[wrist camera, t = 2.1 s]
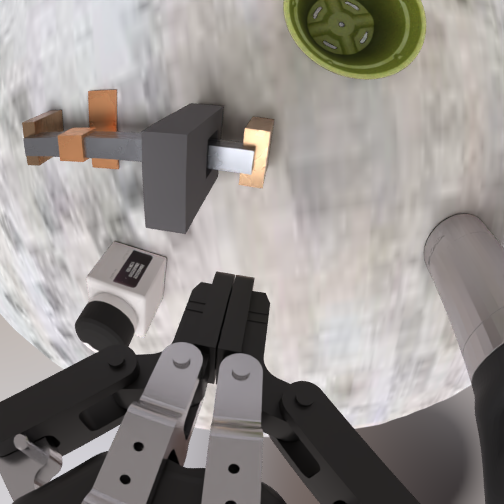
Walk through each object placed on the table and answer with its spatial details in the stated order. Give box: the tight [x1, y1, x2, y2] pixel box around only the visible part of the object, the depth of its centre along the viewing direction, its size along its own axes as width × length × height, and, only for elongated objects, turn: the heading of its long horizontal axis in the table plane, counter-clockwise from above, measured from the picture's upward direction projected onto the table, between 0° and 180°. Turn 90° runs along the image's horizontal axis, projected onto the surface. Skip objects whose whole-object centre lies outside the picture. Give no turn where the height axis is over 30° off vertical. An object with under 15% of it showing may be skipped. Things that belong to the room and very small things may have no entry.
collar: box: [141, 103, 224, 234], centre depth 24 cm, size 3×7×10 cm, turn 174°
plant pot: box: [283, 0, 426, 79], centre depth 18 cm, size 9×9×9 cm
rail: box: [22, 90, 274, 188], centre depth 27 cm, size 26×9×6 cm, turn 84°
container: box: [75, 242, 167, 353], centre depth 35 cm, size 8×8×13 cm
